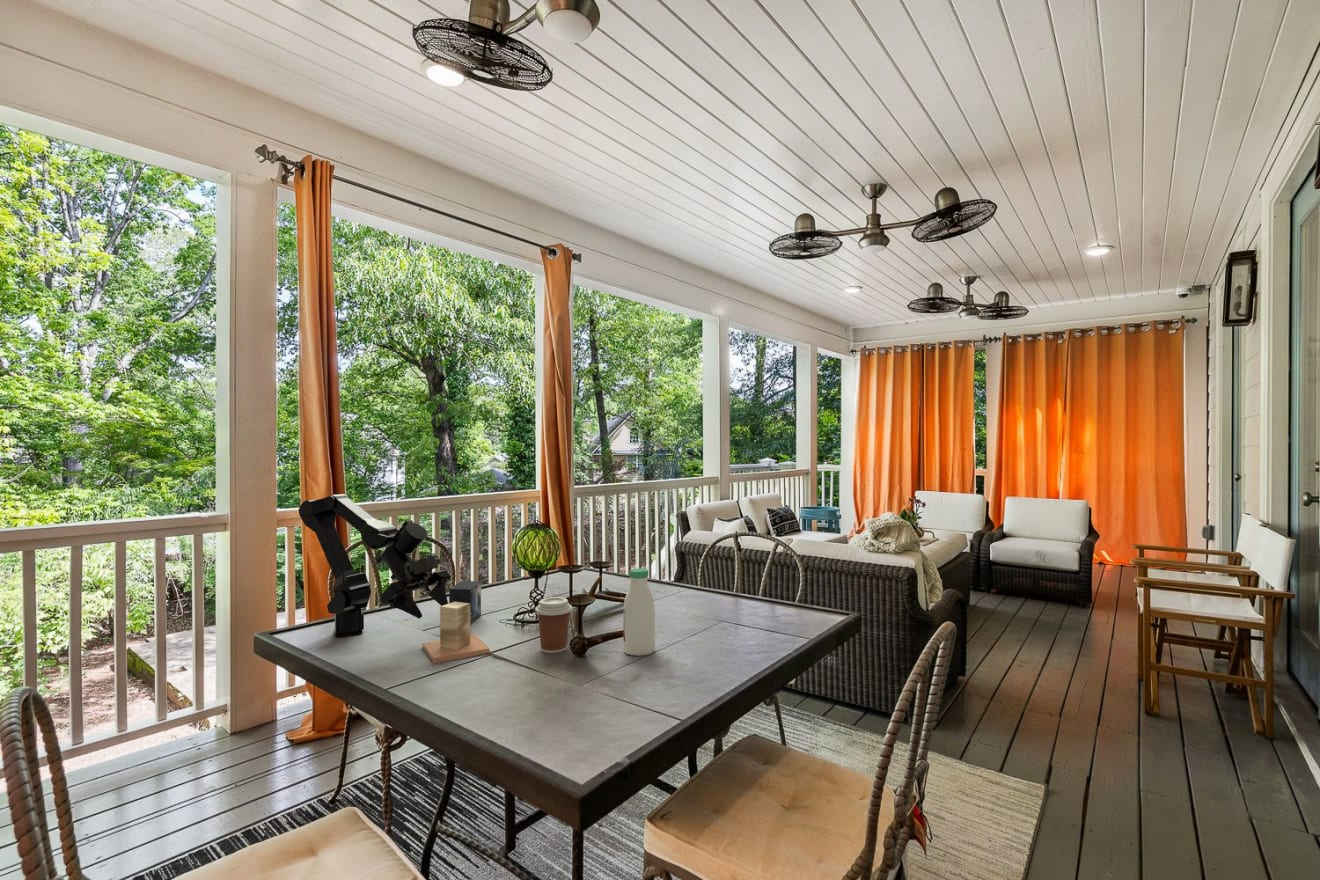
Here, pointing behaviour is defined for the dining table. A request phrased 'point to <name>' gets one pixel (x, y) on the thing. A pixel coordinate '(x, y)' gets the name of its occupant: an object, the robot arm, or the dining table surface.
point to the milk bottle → (639, 615)
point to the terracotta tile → (446, 654)
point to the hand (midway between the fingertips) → (434, 612)
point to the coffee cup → (553, 623)
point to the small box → (468, 596)
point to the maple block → (454, 625)
